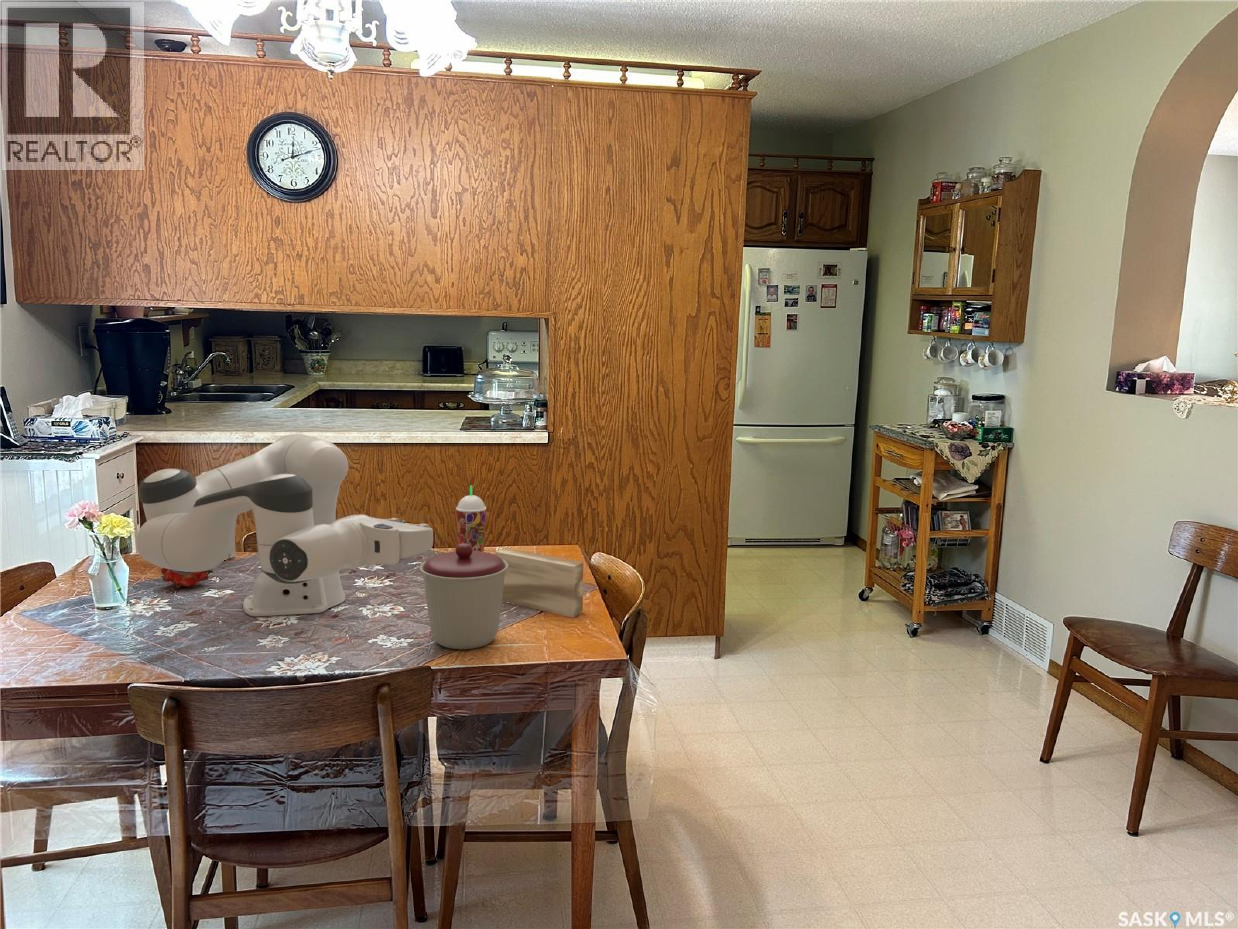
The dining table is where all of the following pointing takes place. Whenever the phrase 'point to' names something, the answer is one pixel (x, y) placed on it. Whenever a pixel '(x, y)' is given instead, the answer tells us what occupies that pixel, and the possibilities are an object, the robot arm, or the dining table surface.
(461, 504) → the smoothie
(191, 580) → the dragon fruit
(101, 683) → the dining table surface
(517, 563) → the beige slab
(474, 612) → the canister
